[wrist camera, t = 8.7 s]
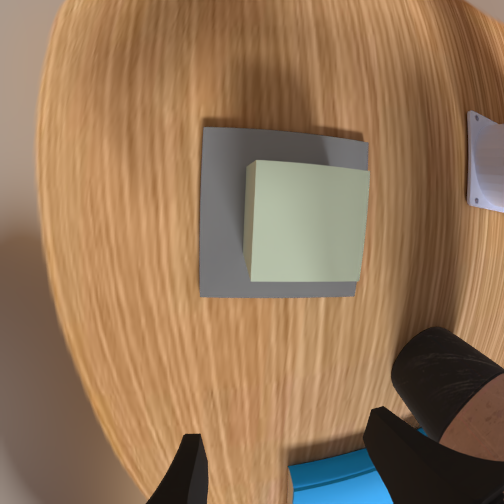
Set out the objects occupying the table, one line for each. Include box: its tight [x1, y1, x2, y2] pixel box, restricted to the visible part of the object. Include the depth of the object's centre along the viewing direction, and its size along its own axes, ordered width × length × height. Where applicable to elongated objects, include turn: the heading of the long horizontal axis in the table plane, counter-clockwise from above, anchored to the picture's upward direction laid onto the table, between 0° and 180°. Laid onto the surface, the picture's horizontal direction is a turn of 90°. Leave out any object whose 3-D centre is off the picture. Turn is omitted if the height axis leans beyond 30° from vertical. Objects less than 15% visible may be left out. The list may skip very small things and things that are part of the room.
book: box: [287, 428, 428, 504], centre depth 25 cm, size 17×4×25 cm
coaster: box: [200, 127, 368, 298], centre depth 17 cm, size 10×10×1 cm
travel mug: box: [391, 327, 504, 500], centre depth 12 cm, size 8×8×20 cm
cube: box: [243, 160, 370, 282], centre depth 15 cm, size 5×5×5 cm
